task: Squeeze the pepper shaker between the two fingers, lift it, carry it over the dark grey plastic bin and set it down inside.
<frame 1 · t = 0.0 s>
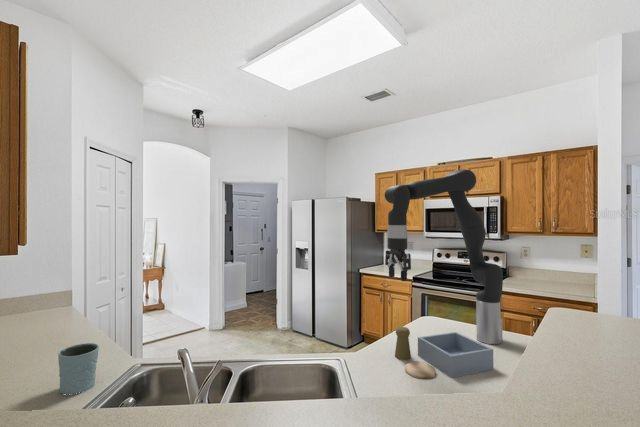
hand: (397, 278, 123), 29 cm above the counter, tool pointing down, fingers open, 8 cm apart
blue-grey textured cup: (78, 388, 98), on the counter
pepper shaker: (402, 357, 121), on the counter
bin: (453, 362, 116), on the counter
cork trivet: (420, 371, 109), on the counter
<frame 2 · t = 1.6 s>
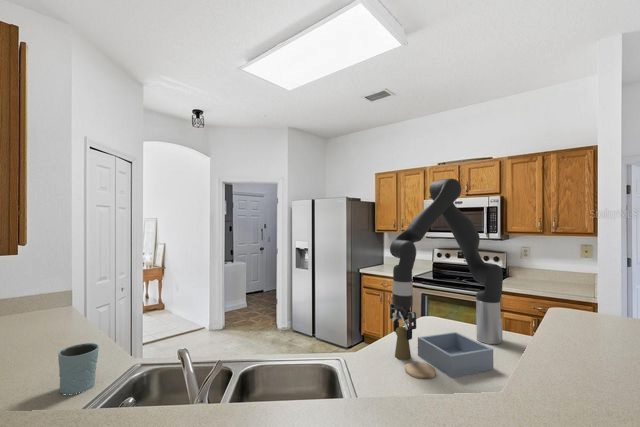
hand: (402, 335, 121), 8 cm above the counter, tool pointing down, fingers open, 8 cm apart
nothing on the counter moved.
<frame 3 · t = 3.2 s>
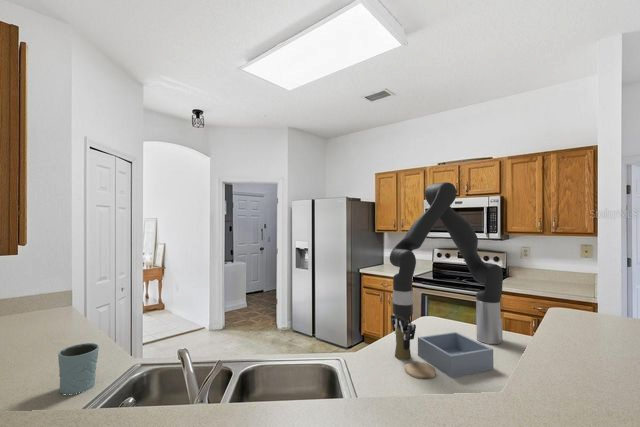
hand: (402, 346, 121), 4 cm above the counter, tool pointing down, fingers closed on pepper shaker, 4 cm apart
pepper shaker: (402, 357, 121), on the counter, touching gripper
everything else where it was.
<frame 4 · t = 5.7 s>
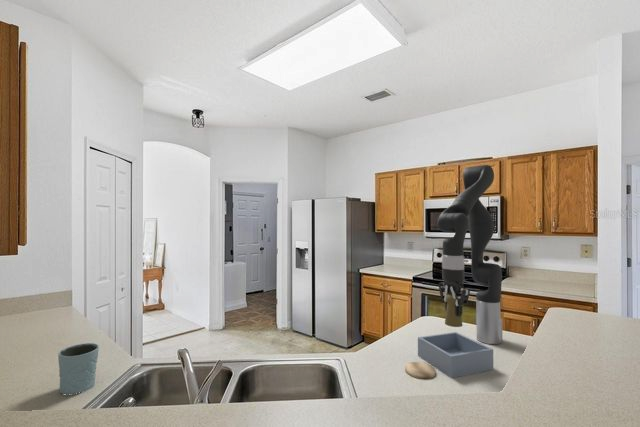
hand: (453, 313, 116), 18 cm above the counter, tool pointing down, fingers closed on pepper shaker, 4 cm apart
pepper shaker: (453, 324, 116), point 14 cm above the counter, touching gripper
everything else where it was.
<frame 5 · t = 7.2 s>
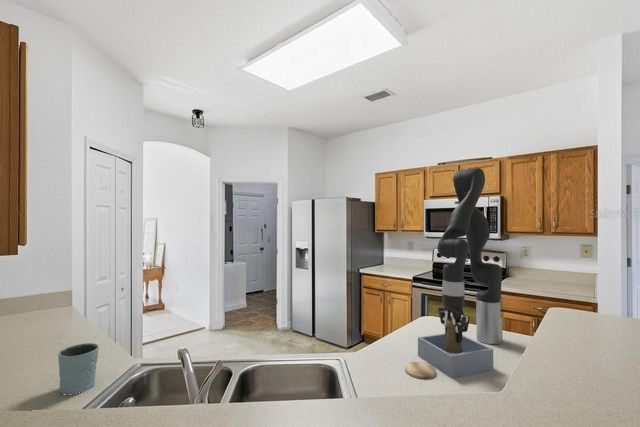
hand: (453, 339, 116), 8 cm above the counter, tool pointing down, fingers closed on pepper shaker, 4 cm apart
pepper shaker: (453, 350, 116), point 4 cm above the counter, touching gripper
everything else where it was.
when the fingers open (7 cm above the counter, at t = 8.4 s): pepper shaker drops 2 cm, resting on bin.
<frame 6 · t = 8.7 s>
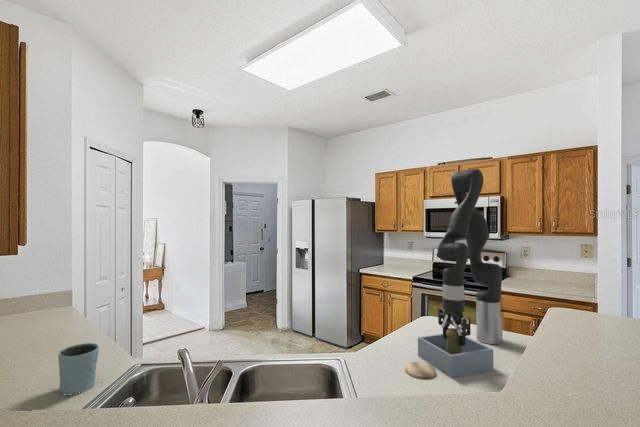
hand: (453, 341, 116), 7 cm above the counter, tool pointing down, fingers open, 7 cm apart
pepper shaker: (453, 360, 116), point 1 cm above the counter, touching bin
everything else where it was.
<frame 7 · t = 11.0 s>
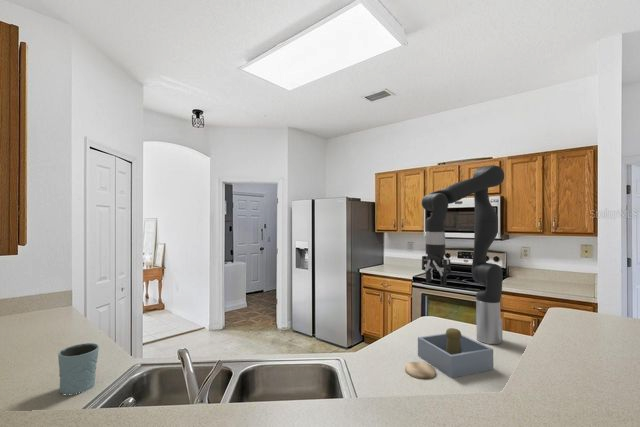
hand: (435, 283, 127), 27 cm above the counter, tool pointing down, fingers open, 8 cm apart
nothing on the counter moved.
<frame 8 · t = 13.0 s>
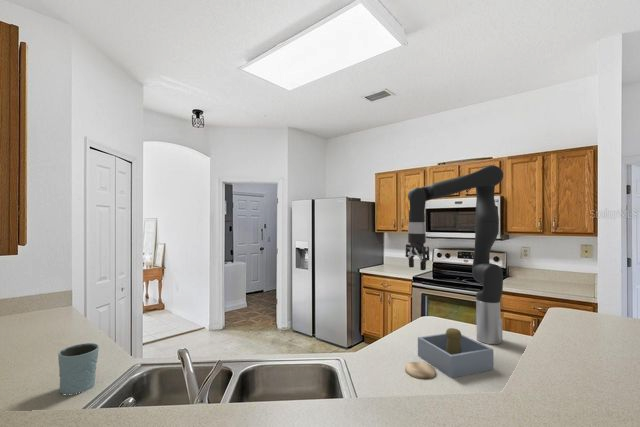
hand: (417, 268, 142), 30 cm above the counter, tool pointing down, fingers open, 8 cm apart
nothing on the counter moved.
at the end: pepper shaker inside the target area on the bin (0.1 cm from its centre), point 0.8 cm above the bin's base; the gripper is holding nothing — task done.
